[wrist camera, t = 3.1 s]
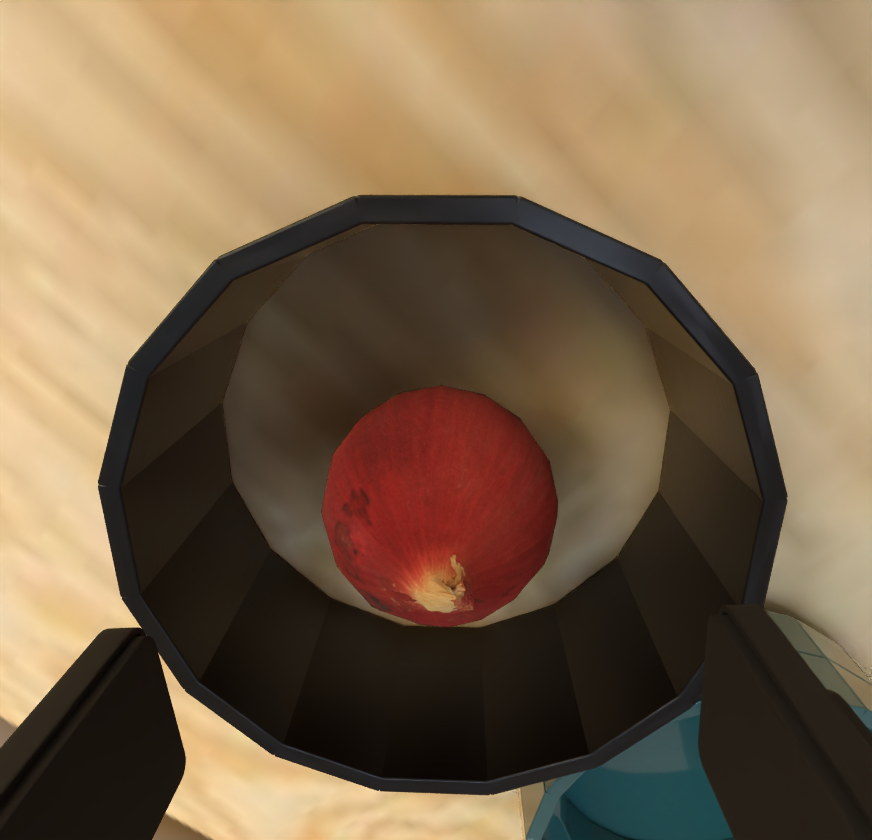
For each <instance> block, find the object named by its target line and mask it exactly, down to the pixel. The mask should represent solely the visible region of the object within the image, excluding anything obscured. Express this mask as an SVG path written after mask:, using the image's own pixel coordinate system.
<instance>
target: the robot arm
mask: <svg viewBox="0 0 872 840" xmlns="http://www.w3.org/2000/svg"><path fill="white" fill-rule="evenodd" d="M698 750H699V756H700V760H701V763H702V766H703V769H704V771H705V774H706V776H707V778H708V780H709V783H710V785H711V787H712V790H713V792H714V794H715V796H716V799H717V801H718V803H719V806H720V808H721V810H722V812H723V815H724V817H725V819H726V822H727V824H728V826H729V828H730V831H731V833H732V835H733V838H734V840H872V733H871V732H870V731H869V729H868V728H867V727H866V726H865V724H864V723H863V722H862V721H861V719H860V718H859V717H858V716H857V714H856V713H855V712H854V711H853V709H852V708H851V707H850V706H849V704H848V703H847V702H846V701H845V700H844V699H843V698H842V697H841V696H840V695H839V694H838V693H836V692H834V691H832V690H827V689H826V688H825V687H824V685H823V684H822V683H821V681H820V680H819V679H818V677H817V676H816V675H815V674H814V672H813V671H812V670H811V668H810V667H809V666H808V664H807V663H806V662H805V661H804V659H803V658H802V657H801V655H800V654H799V653H798V652H797V650H796V649H795V648H794V646H793V645H792V644H791V642H790V641H789V640H788V639H787V637H786V636H785V635H784V633H783V632H782V631H781V629H780V628H779V627H778V626H777V624H776V623H775V622H774V620H773V619H772V618H771V616H770V615H769V614H768V613H767V611H766V610H765V609H764V608H763V607H762V606H761V605H759V604H744V605H723V606H721V607H720V609H719V612H718V615H711V616H710V617H709V619H708V625H707V637H706V649H705V662H704V674H703V686H702V698H701V710H700V722H699V735H698ZM185 764H186V757H185V751H184V748H183V744H182V740H181V737H180V733H179V729H178V725H177V722H176V718H175V714H174V710H173V707H172V703H171V699H170V695H169V692H168V688H167V684H166V680H165V677H164V673H163V669H162V665H161V662H160V658H159V654H158V651H157V647H156V643H155V641H154V639H153V638H152V637H151V636H146V633H145V632H144V630H143V629H141V628H113V629H106V630H103V631H102V632H101V633H100V634H99V635H98V636H97V637H96V638H95V639H94V640H93V641H92V643H91V644H90V645H89V646H88V647H87V648H86V650H85V651H84V652H83V653H82V654H81V655H80V657H79V658H78V659H77V660H76V661H75V662H74V663H73V665H72V666H71V667H70V668H69V669H68V670H67V672H66V673H65V674H64V675H63V676H62V677H61V679H60V680H59V681H58V682H57V683H56V684H55V685H54V687H53V688H52V689H51V690H50V691H49V692H48V694H47V695H46V696H45V697H44V698H43V699H42V701H41V702H40V703H39V704H38V705H37V706H36V707H35V709H34V710H33V711H32V712H31V713H30V714H29V716H28V717H27V718H26V719H25V720H24V721H23V723H22V724H21V725H20V726H19V727H18V728H17V729H16V731H15V732H14V733H13V734H12V735H11V736H10V738H9V739H8V740H7V741H6V742H5V743H4V745H3V746H2V747H1V748H0V840H152V838H153V836H154V834H155V832H156V830H157V828H158V826H159V824H160V822H161V820H162V818H163V816H164V814H165V812H166V810H167V808H168V806H169V804H170V802H171V800H172V798H173V796H174V794H175V792H176V790H177V788H178V786H179V784H180V782H181V780H182V777H183V774H184V770H185Z"/></svg>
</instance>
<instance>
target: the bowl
mask: <svg viewBox="0 0 872 840" xmlns="http://www.w3.org/2000/svg"><path fill="white" fill-rule="evenodd" d="M766 611H767V610H766ZM767 613H768V614H769V615H770V616H771V618H772V619H773V620H774V622H775V623H776V624H777V626H778V627H779V628H780V629H781V631H782V632H783V633H784V635H785V636H786V637H787V639H788V640H789V641H790V642H791V644H792V645H793V646H794V648H795V649H796V650H797V652H798V653H799V654H800V655H801V657H802V658H803V659H804V661H805V662H806V663H807V664H808V666H809V667H810V668H811V670H812V671H813V672H814V674H815V675H816V676H817V677H818V679H819V680H820V681H821V683H822V684H823V685H824V687H825V688H826V689H827V690H832V691H834V692H836V693H838V694H839V695H840V696H841V697H842V698H843V699H844V700H845V701H846V702H847V703H848V704H849V706H850V707H851V708H852V709H853V711H854V712H855V713H856V714H857V716H858V717H859V718H860V719H861V721H862V722H863V723H864V724H865V726H866V727H867V728H868V729H869V731H870V732H871V733H872V682H871V681H870V680H869V679H868V677H867V676H866V675H865V674H864V673H863V671H862V670H861V669H860V668H859V667H858V666H857V664H856V663H855V662H854V661H853V660H852V659H851V657H850V656H849V655H848V654H847V653H846V652H845V650H844V649H843V648H842V647H841V646H840V645H839V644H838V643H836V642H834V641H833V640H831V639H829V638H828V637H826V636H824V635H823V634H821V633H819V632H818V631H816V630H814V629H813V628H811V627H809V626H808V625H806V624H804V623H803V622H801V621H799V620H798V619H796V618H793V617H792V616H789V615H785V614H780V613H776V612H772V611H767ZM701 698H702V696H701V697H700V698H699V700H698V701H697V702H696V704H695V705H692V708H690V709H689V710H687V711H686V712H684V713H683V714H681V715H679V716H678V717H676V718H675V719H673V720H672V721H670V722H668V723H667V724H665V725H664V726H662V727H661V728H659V729H658V730H656V731H654V732H653V733H651V734H650V735H648V736H647V737H645V738H644V739H642V740H640V741H639V742H637V743H636V744H634V745H633V746H631V747H630V748H628V749H626V750H625V751H623V752H622V753H620V754H619V755H617V756H615V757H614V758H612V759H611V760H609V761H608V762H606V763H605V764H603V765H601V766H598V767H597V768H594V769H590V770H586V771H582V772H579V773H575V774H571V775H567V776H563V777H559V778H555V779H552V780H548V781H544V782H540V783H536V784H532V785H528V786H525V787H521V788H518V795H519V805H520V816H521V826H522V836H523V840H734V838H733V835H732V833H731V831H730V828H729V826H728V824H727V822H726V819H725V817H724V815H723V812H722V810H721V808H720V806H719V803H718V801H717V799H716V796H715V794H714V792H713V790H712V787H711V785H710V783H709V780H708V778H707V776H706V774H705V771H704V769H703V766H702V763H701V760H700V756H699V750H698V735H699V722H700V710H701Z"/></svg>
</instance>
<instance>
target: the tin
mask: <svg viewBox="0 0 872 840" xmlns="http://www.w3.org/2000/svg"><path fill="white" fill-rule="evenodd" d="M377 224H427V225H513V226H515V227H518V228H520V229H522V230H524V231H527V232H529V233H531V234H533V235H536V236H538V237H540V238H542V239H545V240H547V241H549V242H551V243H553V244H556V245H558V246H560V247H562V248H565V249H567V250H569V251H571V252H574V253H576V254H578V255H580V256H583V257H585V259H586V260H587V261H588V262H589V263H590V264H591V265H592V266H593V268H594V269H595V270H596V271H597V272H598V273H599V274H600V275H601V277H602V278H603V279H604V280H605V281H606V282H607V283H608V285H609V286H610V287H611V288H612V289H613V290H614V291H615V292H616V294H617V295H618V296H619V297H620V298H621V299H622V300H623V301H624V303H625V304H626V305H627V306H628V307H629V308H630V309H631V310H632V312H633V313H634V314H635V315H636V316H637V317H638V318H639V320H640V321H641V322H642V323H643V324H644V325H645V326H646V330H647V333H648V337H649V340H650V343H651V347H652V350H653V353H654V357H655V360H656V363H657V367H658V370H659V373H660V377H661V380H662V384H663V387H664V390H665V394H666V397H667V400H668V404H669V407H670V415H669V422H668V429H667V436H666V443H665V450H664V457H663V464H662V471H661V477H660V484H659V491H658V492H657V494H656V496H655V497H654V499H653V500H652V502H651V504H650V505H649V507H648V509H647V510H646V512H645V513H644V515H643V517H642V518H641V520H640V522H639V523H638V525H637V526H636V528H635V530H634V531H633V533H632V535H631V536H630V538H629V539H628V541H627V543H626V544H625V546H624V548H623V549H622V551H621V552H620V554H619V556H618V557H617V558H616V559H615V560H614V561H612V562H611V563H610V564H608V565H607V566H606V567H604V568H603V569H602V570H600V571H599V572H598V573H596V574H595V575H594V576H592V577H591V578H590V579H588V580H587V581H586V582H584V583H583V584H582V585H580V586H579V587H578V588H577V589H575V590H574V591H573V592H571V593H570V594H569V595H567V596H566V597H565V598H563V599H562V600H561V601H559V602H558V603H557V604H555V605H553V606H550V607H546V608H543V609H540V610H537V611H533V612H530V613H527V614H524V615H520V616H517V617H514V618H511V619H508V620H504V621H501V622H498V623H495V624H491V625H488V626H485V627H482V628H467V627H431V626H403V625H400V624H397V623H395V622H392V621H389V620H386V619H384V618H381V617H378V616H375V615H373V614H370V613H367V612H365V611H362V610H359V609H356V608H354V607H351V606H348V605H346V604H343V603H340V602H337V601H335V600H332V599H330V598H329V597H328V596H326V595H325V594H324V593H323V592H321V591H320V590H319V589H318V588H317V587H315V586H314V585H313V584H312V583H311V582H309V581H308V580H307V579H306V578H304V577H303V576H302V575H301V574H300V573H298V572H297V571H296V570H295V569H294V568H292V567H291V566H290V565H289V564H288V563H286V562H285V561H284V560H283V559H281V558H280V557H279V556H278V555H277V554H275V553H274V552H273V551H272V550H271V549H270V548H269V546H268V544H267V543H266V541H265V539H264V537H263V536H262V534H261V532H260V530H259V529H258V527H257V525H256V523H255V522H254V520H253V518H252V516H251V515H250V513H249V511H248V509H247V508H246V506H245V504H244V502H243V501H242V499H241V497H240V495H239V493H238V492H237V490H236V488H235V486H234V485H233V483H232V479H231V471H230V463H229V455H228V447H227V439H226V431H225V423H224V414H223V406H222V401H223V398H224V395H225V391H226V388H227V385H228V382H229V378H230V375H231V372H232V369H233V365H234V362H235V359H236V356H237V353H238V349H239V346H240V343H241V340H242V336H243V333H244V330H245V327H246V323H247V321H248V320H249V319H250V318H251V317H252V316H253V315H254V314H255V312H256V311H257V310H258V309H259V308H260V307H261V306H262V305H263V304H264V302H265V301H266V300H267V299H268V298H269V297H270V296H271V295H272V294H273V292H274V291H275V290H276V289H277V288H278V287H279V286H280V285H281V284H282V282H283V281H284V280H285V279H286V278H287V277H288V276H289V275H290V274H291V272H292V271H293V270H294V269H295V268H296V267H297V266H298V265H299V264H300V262H301V261H302V260H303V259H304V258H305V257H306V256H307V255H308V254H310V253H313V252H315V251H317V250H320V249H322V248H324V247H326V246H329V245H331V244H333V243H336V242H338V241H340V240H342V239H345V238H347V237H349V236H352V235H354V234H356V233H358V232H361V231H363V230H365V229H368V228H370V227H372V226H374V225H377ZM98 484H99V485H98V489H99V494H100V499H101V504H102V509H103V514H104V518H105V523H106V528H107V533H108V538H109V543H110V547H111V552H112V557H113V562H114V567H115V571H116V576H117V581H118V586H119V591H120V595H121V597H122V600H123V601H124V603H125V604H126V606H127V607H128V609H129V610H130V612H131V613H132V615H133V616H134V617H135V619H136V620H137V622H138V623H139V625H140V626H141V628H142V629H143V630H144V632H145V633H146V635H147V636H151V637H152V638H153V639H154V641H155V643H156V647H157V651H158V653H159V654H160V656H161V657H162V659H163V660H164V661H165V663H166V664H167V666H168V667H169V669H170V670H171V672H172V673H173V675H174V676H175V678H176V679H177V680H178V682H179V683H180V685H181V686H182V688H183V689H185V691H186V692H187V693H188V694H190V695H191V696H192V697H194V698H195V699H197V700H198V701H199V702H201V703H202V704H203V705H205V706H206V707H208V708H209V709H210V710H212V711H213V712H214V713H216V714H217V715H218V716H220V717H221V718H223V719H224V720H225V721H227V722H228V723H229V724H231V725H232V726H234V727H235V728H236V729H238V730H239V731H240V732H242V733H243V734H245V735H246V736H247V737H249V738H250V739H251V740H253V741H254V742H256V743H257V744H258V745H260V746H261V747H262V748H264V749H265V750H267V751H268V752H269V753H271V754H272V755H275V756H276V757H279V758H282V759H285V760H288V761H291V762H294V763H297V764H300V765H303V766H306V767H309V768H311V769H314V770H317V771H320V772H323V773H326V774H329V775H332V776H335V777H338V778H341V779H344V780H347V781H350V782H353V783H356V784H359V785H362V786H365V787H368V788H371V789H374V790H377V791H379V790H380V791H388V792H414V793H441V794H468V795H490V794H491V795H494V794H498V793H502V792H505V791H509V790H513V789H517V788H521V787H525V786H528V785H532V784H536V783H540V782H544V781H548V780H552V779H555V778H559V777H563V776H567V775H571V774H575V773H579V772H582V771H586V770H590V769H594V768H597V767H598V766H601V765H603V764H605V763H606V762H608V761H609V760H611V759H612V758H614V757H615V756H617V755H619V754H620V753H622V752H623V751H625V750H626V749H628V748H630V747H631V746H633V745H634V744H636V743H637V742H639V741H640V740H642V739H644V738H645V737H647V736H648V735H650V734H651V733H653V732H654V731H656V730H658V729H659V728H661V727H662V726H664V725H665V724H667V723H668V722H670V721H672V720H673V719H675V718H676V717H678V716H679V715H681V714H683V713H684V712H686V711H687V710H689V709H690V708H692V705H695V704H696V702H697V701H698V700H699V698H700V697H701V696H702V686H703V674H704V662H705V649H706V637H707V625H708V619H709V617H710V616H711V615H718V612H719V609H720V607H721V606H723V605H744V604H759V605H761V606H762V607H764V602H765V598H766V594H767V589H768V585H769V580H770V576H771V571H772V567H773V563H774V558H775V554H776V549H777V545H778V540H779V536H780V531H781V527H782V523H783V518H784V514H785V509H786V505H787V497H788V496H787V491H786V487H785V483H784V479H783V475H782V471H781V467H780V462H779V458H778V454H777V450H776V446H775V442H774V438H773V434H772V430H771V425H770V421H769V417H768V413H767V409H766V405H765V401H764V397H763V393H762V388H761V384H760V380H759V376H758V373H757V372H756V370H755V368H754V367H753V366H752V365H751V363H750V362H749V361H748V360H747V359H746V358H745V356H744V355H743V354H742V353H741V352H740V351H739V349H738V348H737V347H736V346H735V345H734V343H733V342H732V341H731V340H730V339H729V338H728V336H727V335H726V334H725V333H724V332H723V330H722V329H721V328H720V327H719V326H718V325H717V323H716V322H715V321H714V320H713V319H712V318H711V316H710V315H709V314H708V313H707V312H706V310H705V309H704V308H703V307H702V306H701V305H700V303H699V302H698V301H697V300H696V299H695V297H694V296H693V295H692V294H691V293H690V292H689V290H688V289H687V288H686V287H685V286H684V285H683V283H682V282H681V281H680V280H679V279H678V277H677V276H676V275H675V274H674V273H673V272H672V270H671V269H670V268H669V267H668V266H667V265H666V263H663V262H662V260H660V259H658V258H656V257H654V256H652V255H649V254H647V253H645V252H643V251H641V250H638V249H636V248H634V247H632V246H630V245H627V244H625V243H623V242H621V241H618V240H616V239H614V238H612V237H610V236H607V235H605V234H603V233H601V232H599V231H596V230H594V229H592V228H590V227H588V226H585V225H583V224H581V223H579V222H577V221H574V220H572V219H570V218H568V217H565V216H563V215H561V214H559V213H557V212H554V211H552V210H550V209H548V208H546V207H543V206H541V205H539V204H537V203H535V202H532V201H530V200H528V199H526V198H524V197H518V196H515V195H358V196H353V197H350V198H348V199H346V200H344V201H341V202H339V203H337V204H335V205H332V206H330V207H328V208H326V209H324V210H321V211H319V212H317V213H315V214H312V215H310V216H308V217H306V218H304V219H301V220H299V221H297V222H295V223H292V224H290V225H288V226H286V227H283V228H281V229H279V230H277V231H275V232H272V233H270V234H268V235H266V236H263V237H261V238H259V239H257V240H254V241H252V242H250V243H248V244H246V245H243V246H241V247H239V248H237V249H234V250H232V251H230V252H228V253H225V254H223V255H221V256H219V257H218V258H217V259H216V260H214V261H213V262H212V263H211V264H210V266H209V267H208V268H207V269H206V270H205V271H204V273H203V274H202V275H201V276H200V277H199V279H198V280H197V281H196V282H195V283H194V284H193V286H192V287H191V288H190V289H189V290H188V292H187V293H186V294H185V295H184V296H183V297H182V299H181V300H180V301H179V302H178V303H177V305H176V306H175V307H174V308H173V309H172V310H171V312H170V313H169V314H168V315H167V316H166V318H165V319H164V320H163V321H162V322H161V323H160V325H159V326H158V327H157V328H156V329H155V331H154V332H153V333H152V334H151V335H150V336H149V338H148V339H147V340H146V341H145V342H144V344H143V345H142V346H141V347H140V348H139V349H138V351H137V352H136V353H135V354H134V355H133V357H132V358H131V359H130V360H129V362H128V365H127V366H126V369H125V373H124V378H123V382H122V386H121V390H120V394H119V398H118V402H117V406H116V410H115V414H114V419H113V423H112V427H111V431H110V435H109V439H108V443H107V447H106V451H105V455H104V459H103V464H102V468H101V472H100V476H99V480H98Z"/></svg>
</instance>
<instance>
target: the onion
mask: <svg viewBox="0 0 872 840" xmlns="http://www.w3.org/2000/svg"><path fill="white" fill-rule="evenodd" d="M321 512H322V516H323V520H324V524H325V528H326V531H327V535H328V538H329V541H330V545H331V548H332V552H333V555H334V558H335V561H336V565H337V567H338V568H339V570H340V571H341V572H342V574H343V575H344V576H345V577H346V578H347V579H348V581H349V582H350V583H351V584H352V585H353V586H354V587H355V588H356V589H357V591H358V592H359V593H360V594H361V595H362V596H363V597H364V598H365V599H366V601H367V602H368V603H369V604H370V605H371V606H372V607H374V608H376V609H378V610H380V611H383V612H386V613H389V614H392V615H395V616H398V617H401V618H403V619H406V620H409V621H412V622H415V623H417V624H421V625H431V626H441V627H453V626H457V625H461V624H465V623H470V622H474V621H478V620H482V619H483V618H485V617H487V616H488V615H490V614H491V613H493V612H495V611H496V610H498V609H500V608H501V607H503V606H504V605H506V604H508V603H509V602H511V601H513V600H514V599H515V598H516V597H517V596H518V594H519V593H520V592H521V591H522V589H523V588H524V587H525V586H526V585H527V584H528V582H529V581H530V580H531V579H532V578H533V577H534V576H535V574H536V573H537V572H538V571H539V570H540V569H541V568H542V566H543V565H544V564H545V561H546V559H547V556H548V554H549V551H550V546H551V542H552V537H553V533H554V529H555V524H556V520H557V513H558V499H557V495H556V490H555V485H554V480H553V476H552V471H551V466H550V462H549V460H548V458H547V457H546V455H545V454H544V452H543V450H542V449H541V448H540V446H539V445H538V443H537V442H536V441H535V439H534V438H533V436H532V435H531V433H530V432H529V431H528V429H527V428H526V426H525V425H524V424H523V422H522V421H521V419H520V418H519V417H517V416H516V415H514V414H513V413H511V412H510V411H508V410H507V409H505V408H504V407H502V406H501V405H499V404H498V403H496V402H495V401H493V400H492V399H490V398H489V397H487V396H486V395H484V394H479V393H475V392H470V391H466V390H461V389H457V388H452V387H448V386H443V385H439V386H434V387H429V388H423V389H418V390H413V391H408V392H402V393H399V394H397V395H395V396H394V397H392V398H390V399H389V400H387V401H386V402H384V403H382V404H381V405H379V406H377V407H376V408H374V409H373V410H371V411H369V412H368V413H366V414H365V415H364V416H363V417H362V418H361V419H360V420H359V421H358V422H357V423H356V424H355V425H354V427H353V428H352V429H351V431H350V432H349V434H348V435H347V436H346V438H345V439H344V440H343V442H342V443H341V444H340V446H339V447H338V448H337V450H336V451H335V453H334V454H333V455H332V459H331V464H330V469H329V474H328V479H327V485H326V490H325V495H324V501H323V506H322V511H321Z"/></svg>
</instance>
